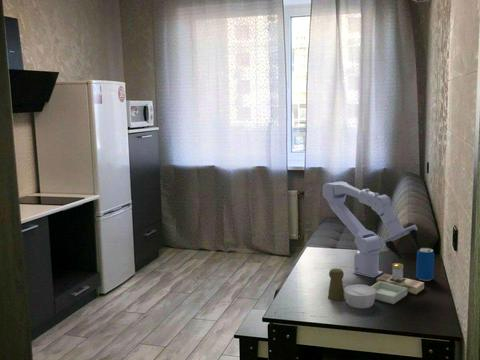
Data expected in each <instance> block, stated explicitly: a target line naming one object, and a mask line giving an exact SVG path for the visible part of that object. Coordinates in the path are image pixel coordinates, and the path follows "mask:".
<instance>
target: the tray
mask: <svg viewBox="0 0 480 360" xmlns="http://www.w3.org/2000/svg"><path fill="white" fill-rule="evenodd" d="M370 286H371V287H373V288H375V290H376V295H375V300H377V301H379V302H380V301H381V302H384V303H388V304H392V305H394V304H396V303H397V302H399V301H401V300H402V299H403V298H404V297H406V296H408V292H407V288H406V287H402V286H397V285H393V284H389V283H385V282H381V281H379V282H377V281H376V282H375V283H374V284H373V285H370Z"/></svg>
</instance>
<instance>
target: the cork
mask: <svg viewBox="0 0 480 360" xmlns="http://www.w3.org/2000/svg"><path fill="white" fill-rule="evenodd" d="M328 275H329V278H330V279H329V280H330V281H329V288H328V293H327V294H328V295H327V300H329V301H331V302H343V301H345V300H346V299H345V294H344V282H343V278H344V275H345V274H344V271H343V270H342V269H340V268H331V269H330V270H329V273H328Z"/></svg>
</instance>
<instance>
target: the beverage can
mask: <svg viewBox="0 0 480 360" xmlns="http://www.w3.org/2000/svg"><path fill="white" fill-rule="evenodd" d="M434 268H435V252H434V249H432V248H430V247H420V250H419V251H418V250H417V252H416V268H415V269H416V270H415V271H416V272H415V277H416V278H417V279H418V281H421V282H423V281H424V282H429V281H432V280H434Z"/></svg>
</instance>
